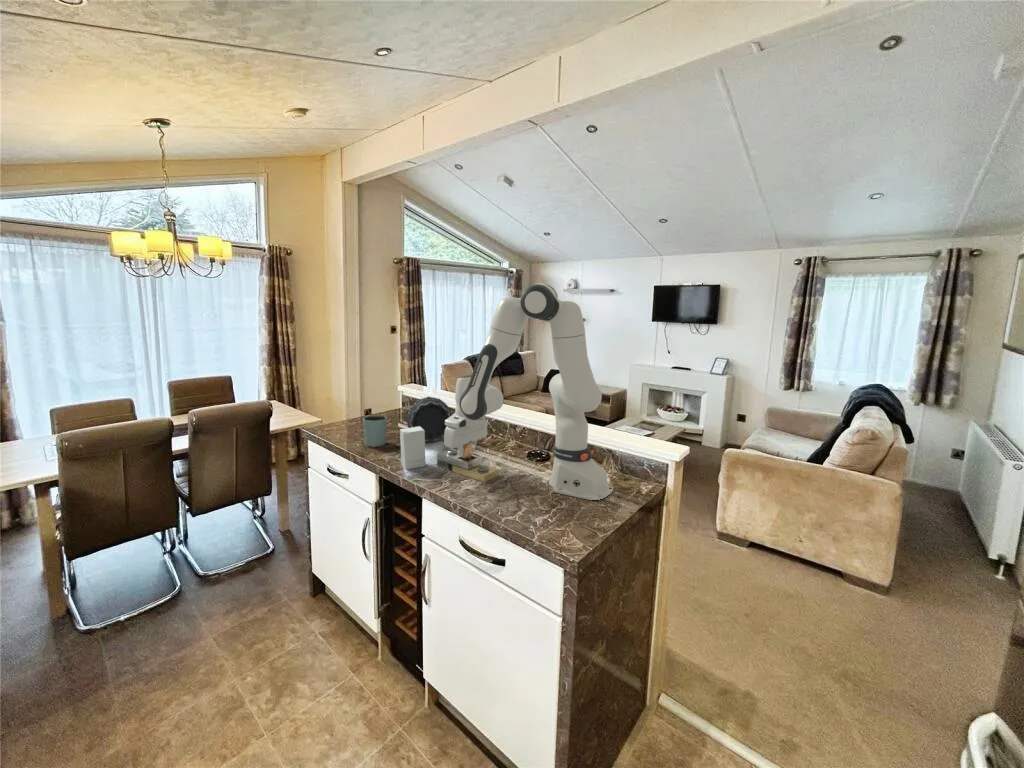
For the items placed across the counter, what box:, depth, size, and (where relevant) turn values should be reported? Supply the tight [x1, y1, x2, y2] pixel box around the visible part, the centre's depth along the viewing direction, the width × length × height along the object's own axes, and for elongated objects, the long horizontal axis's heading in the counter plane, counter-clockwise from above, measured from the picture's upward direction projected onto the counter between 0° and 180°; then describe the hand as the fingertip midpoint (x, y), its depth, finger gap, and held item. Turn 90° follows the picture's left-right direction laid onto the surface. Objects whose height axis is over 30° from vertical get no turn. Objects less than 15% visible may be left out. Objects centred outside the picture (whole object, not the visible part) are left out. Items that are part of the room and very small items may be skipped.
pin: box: [461, 441, 473, 461], centre depth 164 cm, size 4×4×9 cm
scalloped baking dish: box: [406, 396, 453, 443], centre depth 199 cm, size 11×20×20 cm, turn 107°
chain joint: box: [436, 448, 500, 483], centre depth 165 cm, size 24×8×6 cm, turn 53°
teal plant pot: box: [362, 414, 388, 448], centre depth 193 cm, size 10×10×12 cm
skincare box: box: [399, 426, 427, 471], centre depth 168 cm, size 8×6×15 cm
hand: (466, 453), depth 164 cm, fingers closed on pin, 4 cm apart
